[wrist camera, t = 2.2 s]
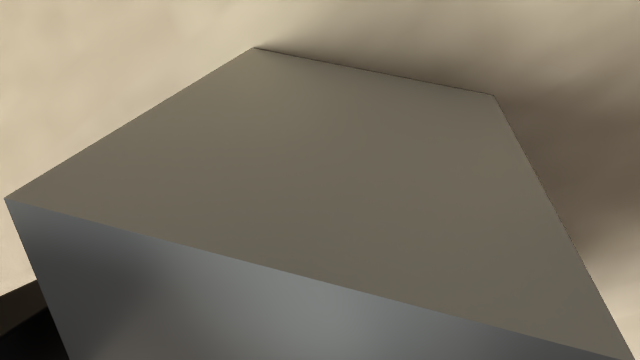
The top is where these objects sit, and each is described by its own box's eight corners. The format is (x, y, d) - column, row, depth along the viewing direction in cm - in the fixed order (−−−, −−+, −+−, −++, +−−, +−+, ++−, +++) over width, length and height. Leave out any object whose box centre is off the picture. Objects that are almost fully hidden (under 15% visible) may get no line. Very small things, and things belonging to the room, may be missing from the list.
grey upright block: (422, 272, 16) (428, 561, 8) (245, 228, 16) (108, 454, 9) (493, 95, 11) (638, 364, 4) (251, 47, 12) (3, 197, 5)
